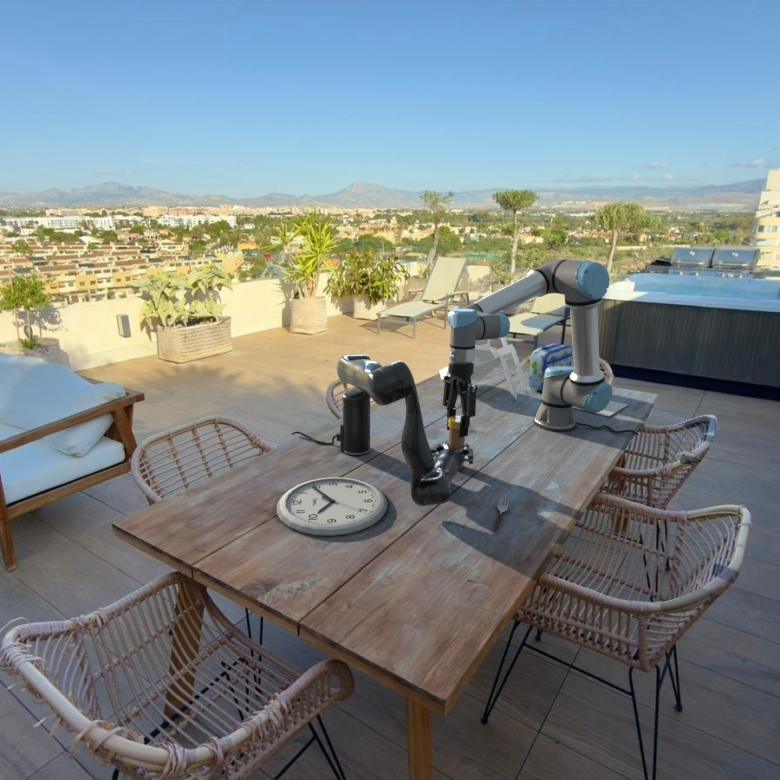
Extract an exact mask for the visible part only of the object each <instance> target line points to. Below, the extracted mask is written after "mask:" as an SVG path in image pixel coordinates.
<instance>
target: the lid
mask: <svg viewBox="0 0 780 780" xmlns="http://www.w3.org/2000/svg"><path fill="white" fill-rule="evenodd" d="M461 416H462V415H456V416H451V417H449V420H448V426H449V427H450V428H452V429H457V430H460V421H461Z"/></svg>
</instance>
